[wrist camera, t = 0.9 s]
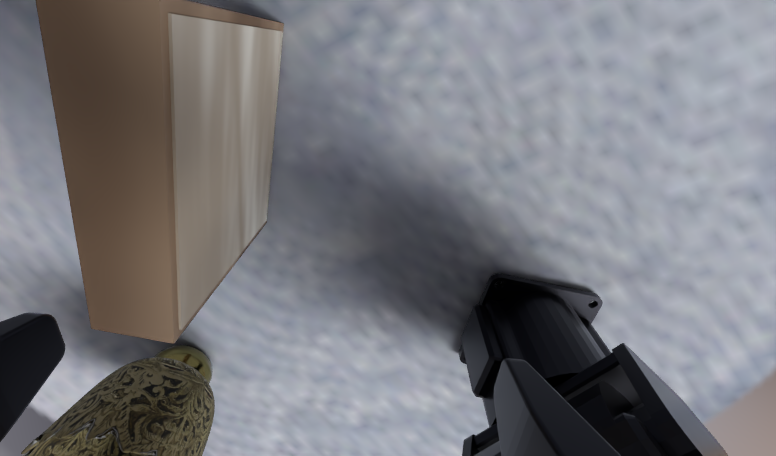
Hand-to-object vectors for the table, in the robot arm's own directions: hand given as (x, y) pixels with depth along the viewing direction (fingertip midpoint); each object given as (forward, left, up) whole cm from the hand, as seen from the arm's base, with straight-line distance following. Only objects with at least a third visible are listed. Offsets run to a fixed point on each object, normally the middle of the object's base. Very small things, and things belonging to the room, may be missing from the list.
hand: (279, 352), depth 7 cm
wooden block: (+5, -1, -12) cm, 13 cm away
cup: (+8, +15, -12) cm, 21 cm away
